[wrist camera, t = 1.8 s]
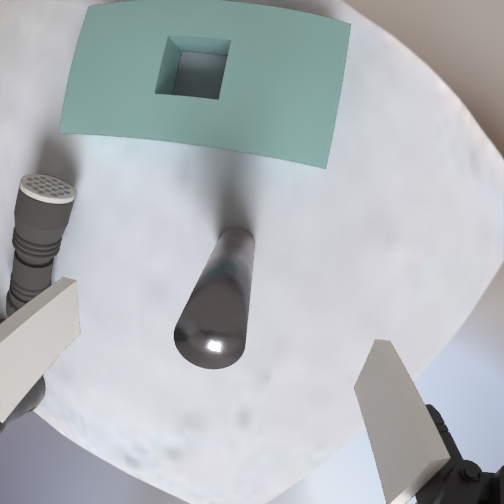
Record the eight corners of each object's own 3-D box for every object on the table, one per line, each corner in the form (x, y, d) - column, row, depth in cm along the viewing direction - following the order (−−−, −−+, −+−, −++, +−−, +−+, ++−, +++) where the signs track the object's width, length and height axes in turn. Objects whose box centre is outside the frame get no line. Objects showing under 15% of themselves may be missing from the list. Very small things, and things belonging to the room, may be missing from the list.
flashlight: (57, 321, 30) (31, 346, 25) (23, 298, 29) (-5, 319, 24) (86, 192, 25) (52, 203, 20) (45, 171, 25) (9, 178, 20)
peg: (215, 259, 26) (172, 361, 13) (221, 224, 26) (176, 302, 12) (251, 265, 27) (239, 374, 13) (257, 231, 26) (251, 317, 12)
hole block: (84, 134, 23) (58, 133, 20) (109, 20, 20) (89, 5, 16) (316, 166, 24) (326, 169, 20) (338, 41, 21) (351, 23, 17)
